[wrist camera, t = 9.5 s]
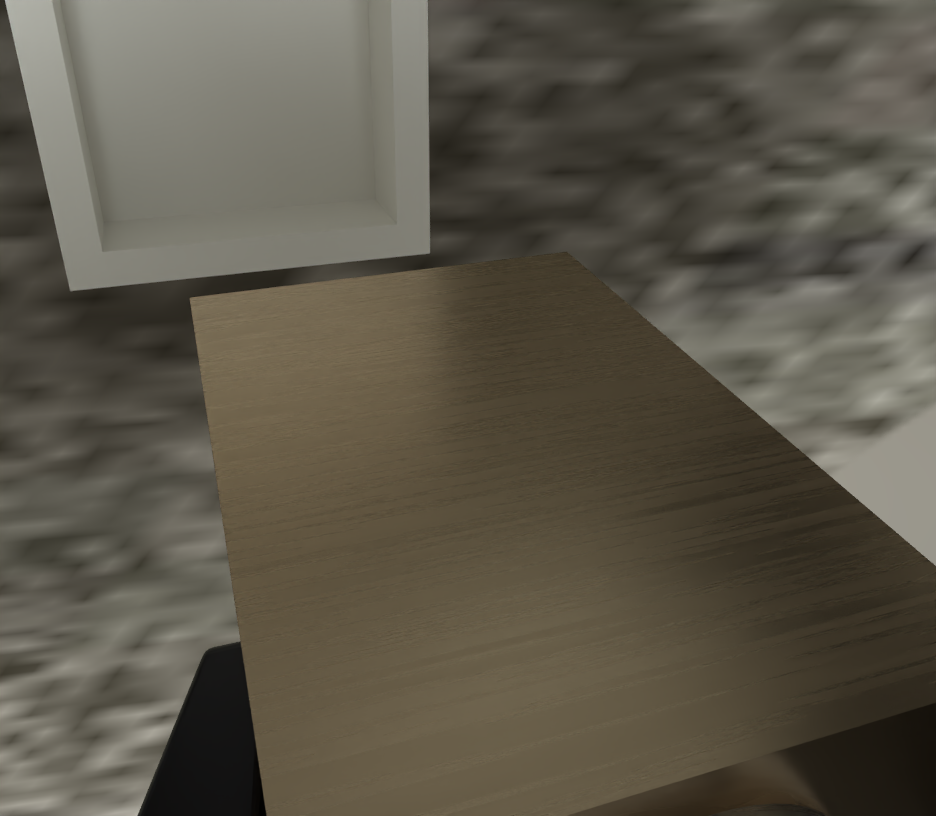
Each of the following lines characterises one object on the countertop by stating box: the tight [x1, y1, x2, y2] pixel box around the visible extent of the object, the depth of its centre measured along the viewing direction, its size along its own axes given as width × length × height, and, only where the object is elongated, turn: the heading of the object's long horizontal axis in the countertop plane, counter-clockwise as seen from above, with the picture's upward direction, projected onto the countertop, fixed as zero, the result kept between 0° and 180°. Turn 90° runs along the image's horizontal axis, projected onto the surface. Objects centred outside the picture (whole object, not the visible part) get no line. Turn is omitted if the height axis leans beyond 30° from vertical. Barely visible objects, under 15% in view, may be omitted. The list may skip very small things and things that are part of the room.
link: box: [190, 252, 936, 816], centre depth 7 cm, size 7×4×6 cm, turn 0°
